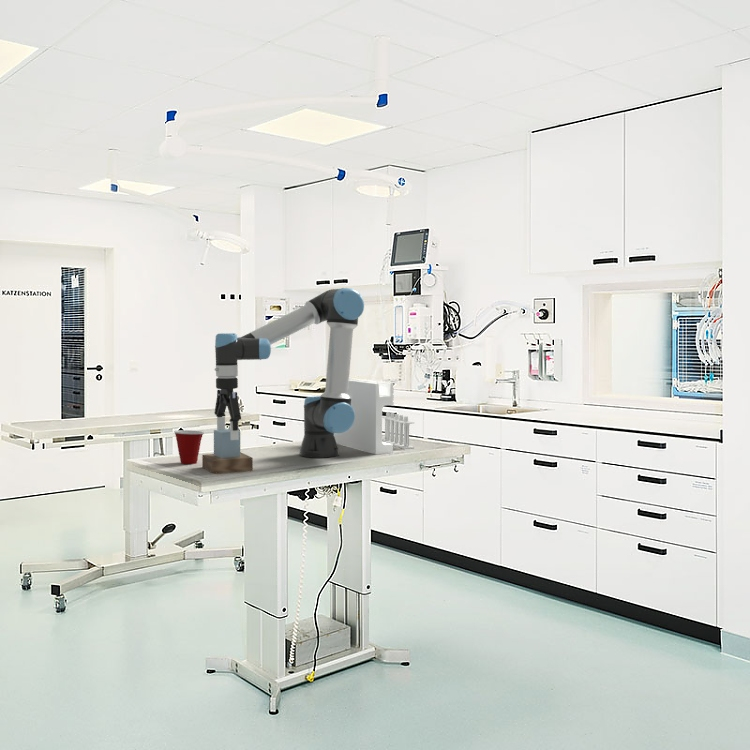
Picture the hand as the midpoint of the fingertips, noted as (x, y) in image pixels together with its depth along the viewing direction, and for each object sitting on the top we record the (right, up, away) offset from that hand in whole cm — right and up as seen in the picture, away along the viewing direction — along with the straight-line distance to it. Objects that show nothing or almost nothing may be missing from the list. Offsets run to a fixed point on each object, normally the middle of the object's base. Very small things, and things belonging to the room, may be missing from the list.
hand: (227, 437), depth 284 cm
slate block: (0, -7, +1) cm, 7 cm away
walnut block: (0, -12, 0) cm, 12 cm away
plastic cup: (-16, -11, +12) cm, 23 cm away
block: (+47, -9, +51) cm, 70 cm away
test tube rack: (+61, -8, +60) cm, 86 cm away
